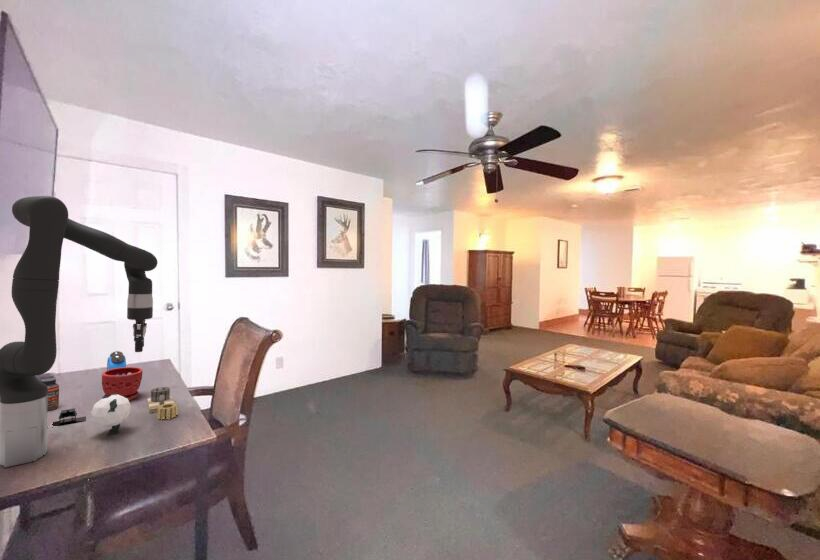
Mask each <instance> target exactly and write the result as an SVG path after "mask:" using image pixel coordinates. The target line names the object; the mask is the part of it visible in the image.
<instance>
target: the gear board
mask: <svg viewBox="0 0 820 560" xmlns="http://www.w3.org/2000/svg"><path fill="white" fill-rule="evenodd" d="M170 389H171V388H170V387H169V386H160V387H155V388H152V389H151V390H150V397H148V398H147V399H146V400H147V401H148V402H147V401H146V402H147V407H148V411H149V412H150V413H149V414H153V413H152V412H154V413H157V407H158V406H160V405H162V404H166V403H175V402H174V399H173V396H172V394H171V393H170V392H171V390H170Z"/></svg>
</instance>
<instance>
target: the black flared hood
mask: <svg viewBox="0 0 820 560" xmlns="http://www.w3.org/2000/svg"><path fill="white" fill-rule="evenodd" d="M77 416H78V412H77V410H76V408H74V407H73V408H69V409H62V410H60V413H59V415H58V420H56V421H52V422H53V424H52V425H53V426H58V427H62V426H69V425H72V424H79V423H85V422H86V421H87V416H86V415H85V416H80V417H79V416H78V417H77ZM69 417H70V418H69Z"/></svg>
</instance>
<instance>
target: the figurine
mask: <svg viewBox="0 0 820 560" xmlns="http://www.w3.org/2000/svg"><path fill="white" fill-rule="evenodd" d="M103 396H104V395H103ZM103 396H102V398H101V399H99V400H98V401H97V402H95V403H94V405H93V408H91V409H92V410H91V412H90V416H91V419H92V422H93V424H95V425H98V426H100V427H102V428H109V427H111V428H110V429H108V431H109V432H108V433H107V437H109V436H112V435H116V433H117V434H119V430H118V429H120V426H121V423H122V422H124V421H125V420H126V419H127V418H128V417H129V414H130V412H131V410H132V406H131V403H130V400H128V399H127V398H125V397H123V396H120V395H118V394H117V393H115V394H112V395H109V394H107V396H104V397H103ZM111 431H112V432H111Z"/></svg>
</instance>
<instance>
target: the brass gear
mask: <svg viewBox="0 0 820 560" xmlns="http://www.w3.org/2000/svg"><path fill="white" fill-rule="evenodd" d="M178 407H179V405H178V403H176V402H174V403H166V404H162V405H160V406H158V407H157V412H156V419H157V420H158V419H161V420H160V421H163V420H162V419H168V420H171V419H170V418H172V419H174V418H173V417H175V416H176V415H177V414H178V413H179V412H178V411H179V410H178V409H179V408H178ZM177 416H178V415H177ZM177 416H176V417H177ZM176 417H175V418H176Z"/></svg>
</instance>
